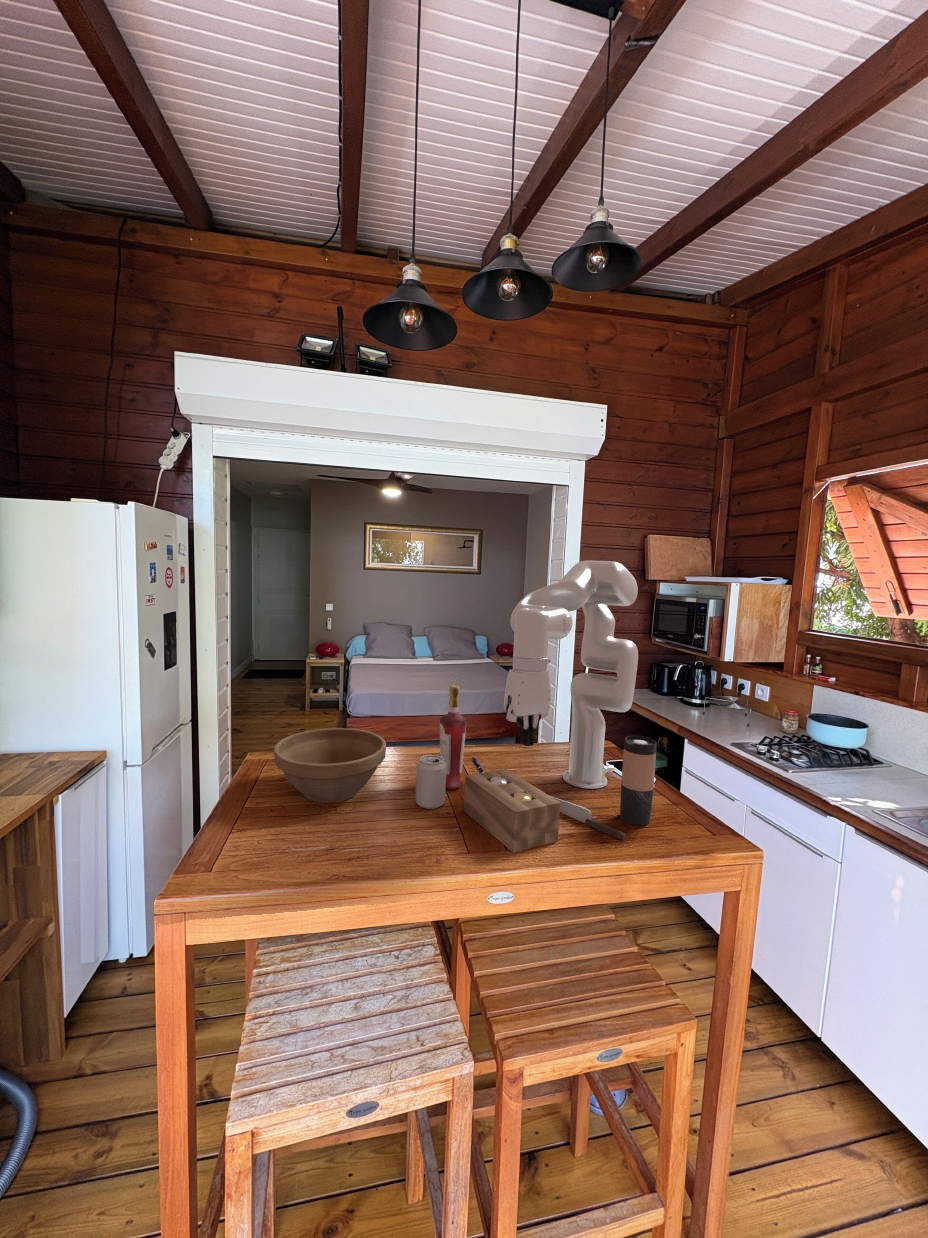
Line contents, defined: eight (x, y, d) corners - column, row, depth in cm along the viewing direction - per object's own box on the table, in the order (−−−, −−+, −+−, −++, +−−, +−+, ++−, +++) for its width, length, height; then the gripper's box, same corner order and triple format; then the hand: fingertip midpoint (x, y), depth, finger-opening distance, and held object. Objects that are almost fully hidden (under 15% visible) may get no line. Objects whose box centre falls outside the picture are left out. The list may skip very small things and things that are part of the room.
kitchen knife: (626, 825, 123) (526, 781, 145) (624, 827, 122) (523, 782, 144) (624, 843, 123) (525, 796, 145) (622, 844, 123) (522, 797, 144)
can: (440, 812, 133) (442, 765, 132) (411, 808, 134) (413, 761, 133) (447, 799, 140) (449, 755, 139) (420, 796, 142) (421, 751, 141)
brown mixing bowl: (320, 828, 122) (321, 772, 121) (250, 793, 139) (251, 743, 138) (406, 791, 145) (408, 743, 144) (337, 764, 162) (338, 721, 161)
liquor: (433, 782, 151) (437, 684, 149) (457, 779, 154) (462, 683, 151) (442, 792, 144) (446, 690, 142) (467, 789, 147) (472, 689, 145)
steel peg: (499, 809, 134) (501, 776, 134) (508, 815, 131) (510, 782, 130) (486, 812, 133) (487, 778, 132) (494, 818, 129) (496, 784, 128)
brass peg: (522, 826, 126) (524, 791, 125) (533, 834, 122) (535, 798, 122) (508, 829, 124) (510, 794, 123) (518, 837, 120) (520, 801, 120)
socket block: (504, 802, 140) (505, 769, 139) (557, 841, 121) (560, 802, 120) (463, 810, 134) (465, 775, 133) (513, 853, 115) (515, 812, 114)
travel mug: (651, 815, 136) (656, 738, 134) (651, 828, 129) (657, 747, 127) (619, 809, 139) (625, 733, 137) (618, 822, 131) (623, 742, 130)
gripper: (546, 659, 126) (542, 735, 128) (492, 663, 119) (489, 743, 121) (567, 665, 120) (562, 744, 122) (511, 669, 113) (507, 754, 115)
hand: (526, 744), depth 122 cm, fingers closed
